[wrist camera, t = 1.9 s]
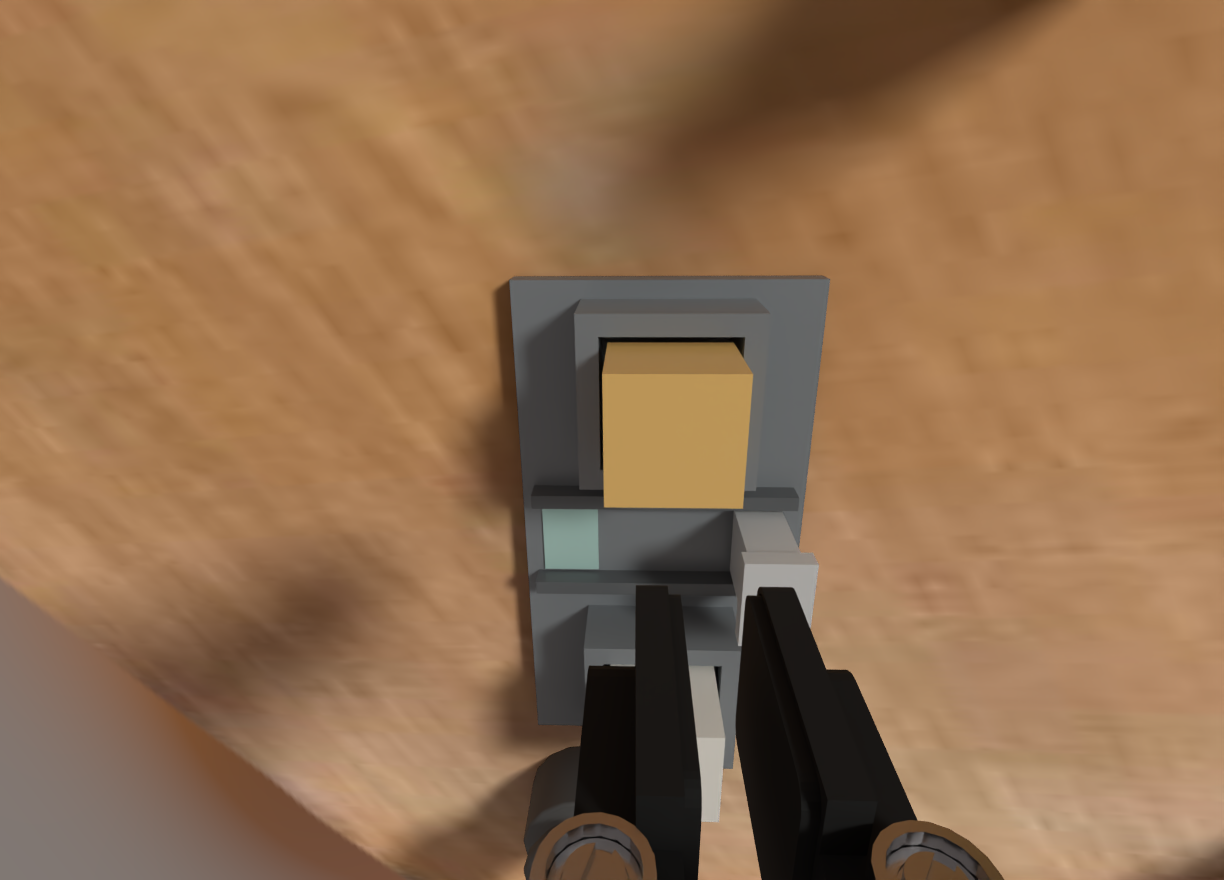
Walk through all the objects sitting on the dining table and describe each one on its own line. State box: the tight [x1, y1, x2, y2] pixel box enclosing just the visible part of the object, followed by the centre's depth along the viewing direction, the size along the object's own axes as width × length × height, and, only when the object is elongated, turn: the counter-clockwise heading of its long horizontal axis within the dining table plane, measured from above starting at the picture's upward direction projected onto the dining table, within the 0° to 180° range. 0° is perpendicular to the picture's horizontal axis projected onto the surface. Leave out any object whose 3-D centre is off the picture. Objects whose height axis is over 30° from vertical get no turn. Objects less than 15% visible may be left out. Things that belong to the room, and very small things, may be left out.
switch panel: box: [509, 276, 830, 769], centre depth 27 cm, size 12×22×4 cm, turn 0°
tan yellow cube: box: [602, 342, 753, 509], centre depth 22 cm, size 4×4×4 cm
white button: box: [611, 664, 725, 822], centre depth 27 cm, size 4×4×4 cm
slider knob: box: [730, 511, 819, 646], centre depth 26 cm, size 3×4×5 cm
